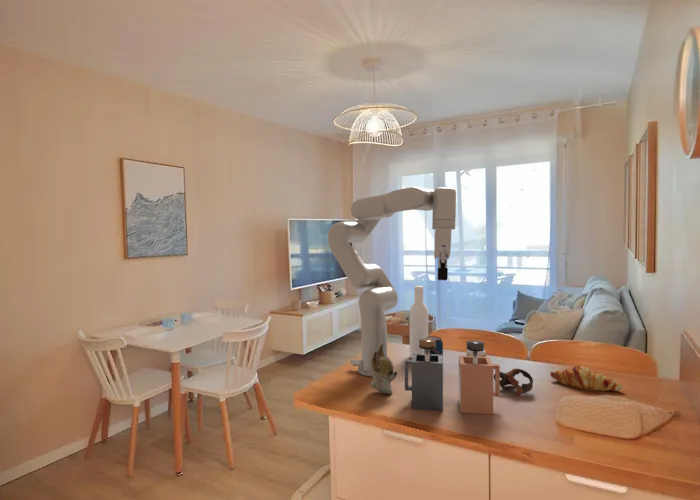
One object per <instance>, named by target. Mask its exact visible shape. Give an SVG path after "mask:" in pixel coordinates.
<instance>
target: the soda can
mask: <svg viewBox="0 0 700 500" xmlns="http://www.w3.org/2000/svg"><path fill="white" fill-rule="evenodd" d="M426 339H433V340H435V341H436V348H435V349H430V354H435V355H442V359H443V360H444V343H443V340H442V338H441V337H440V336H434V335H431V336H430V335H428V337H426Z"/></svg>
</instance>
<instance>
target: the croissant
mask: <svg viewBox="0 0 700 500" xmlns="http://www.w3.org/2000/svg"><path fill="white" fill-rule="evenodd" d="M549 376H550V377H551V378H552V379H554V380H555V381H558V382H559V383H560V384H562V385H564V386H569V387H571V388H572V387H573V388H575V389H581V390H585V391H601V392H604V391H606V392H607V391H611V392H619V391H621V390H622V389H623V385H622V384H620V383H618V382H617V381H616V380H615V379H613V378H609V377H607V376H606V375H604V374H603V372H598V371H592V370H591V369H589V368H588V367H584V366H581V365H574V367H573V368H566V369H565V370H556V371H550V375H549Z"/></svg>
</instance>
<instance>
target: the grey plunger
mask: <svg viewBox="0 0 700 500" xmlns="http://www.w3.org/2000/svg"><path fill="white" fill-rule="evenodd" d="M465 344H466V346H465V347H466V351H467V350H470V351H473V364H478V351H483V350H485V342H484V341H481V340H475V339H473V340H467V341H466V343H465Z"/></svg>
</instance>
